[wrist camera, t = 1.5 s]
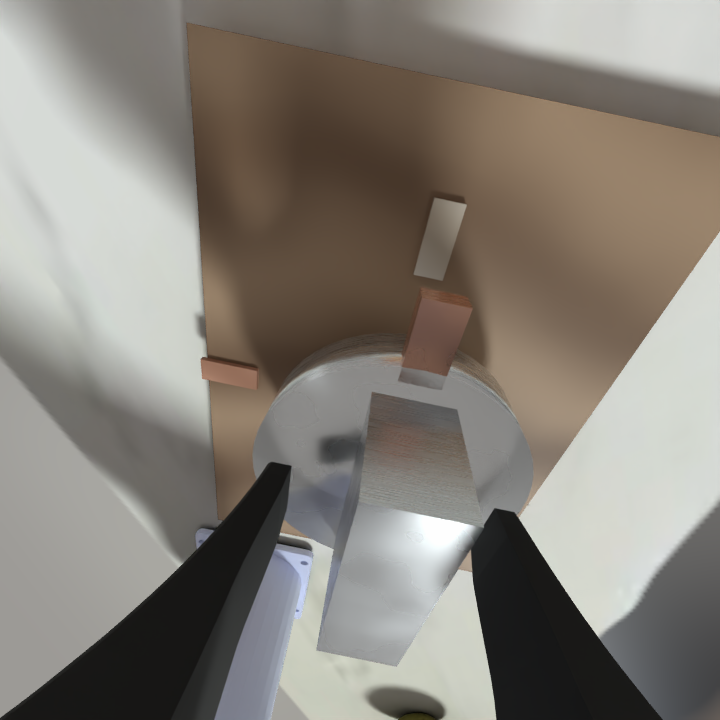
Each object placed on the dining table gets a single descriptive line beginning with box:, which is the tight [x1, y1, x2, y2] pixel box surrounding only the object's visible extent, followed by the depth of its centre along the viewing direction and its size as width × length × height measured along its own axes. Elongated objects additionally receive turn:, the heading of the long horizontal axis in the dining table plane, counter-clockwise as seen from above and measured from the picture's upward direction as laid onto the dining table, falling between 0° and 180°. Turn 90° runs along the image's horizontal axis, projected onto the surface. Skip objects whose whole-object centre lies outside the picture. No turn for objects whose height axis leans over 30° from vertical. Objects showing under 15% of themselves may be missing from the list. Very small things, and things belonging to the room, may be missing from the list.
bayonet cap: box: [252, 287, 534, 667], centre depth 10 cm, size 11×9×6 cm
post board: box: [187, 23, 720, 572], centre depth 14 cm, size 22×16×3 cm
